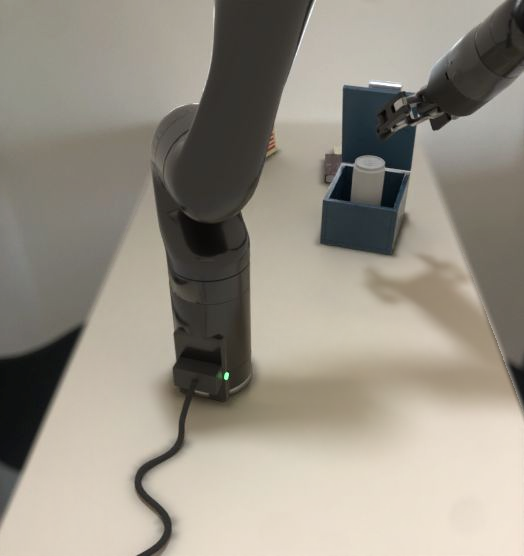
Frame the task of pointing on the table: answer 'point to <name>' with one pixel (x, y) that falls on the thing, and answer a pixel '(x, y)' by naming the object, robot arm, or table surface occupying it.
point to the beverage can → (368, 180)
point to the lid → (374, 126)
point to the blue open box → (363, 213)
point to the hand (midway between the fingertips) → (406, 129)
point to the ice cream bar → (333, 164)
